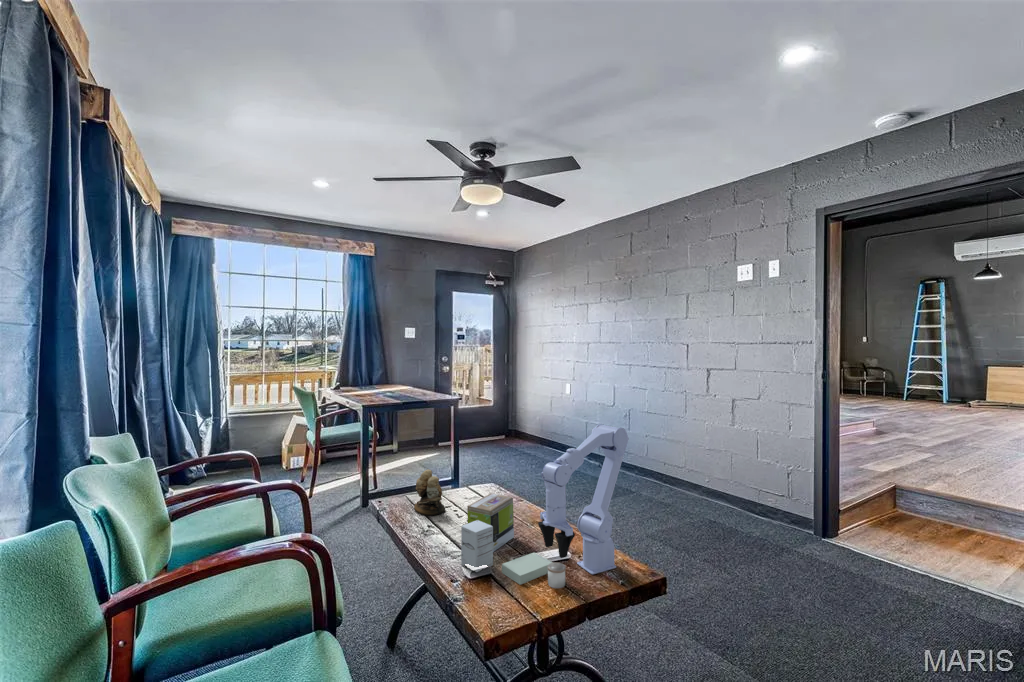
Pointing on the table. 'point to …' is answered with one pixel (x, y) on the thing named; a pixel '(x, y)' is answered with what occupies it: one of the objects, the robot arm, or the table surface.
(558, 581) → the cream cup
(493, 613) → the table surface
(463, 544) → the supplement box
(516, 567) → the sage book
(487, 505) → the tea box
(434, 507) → the brown rock sculpture
